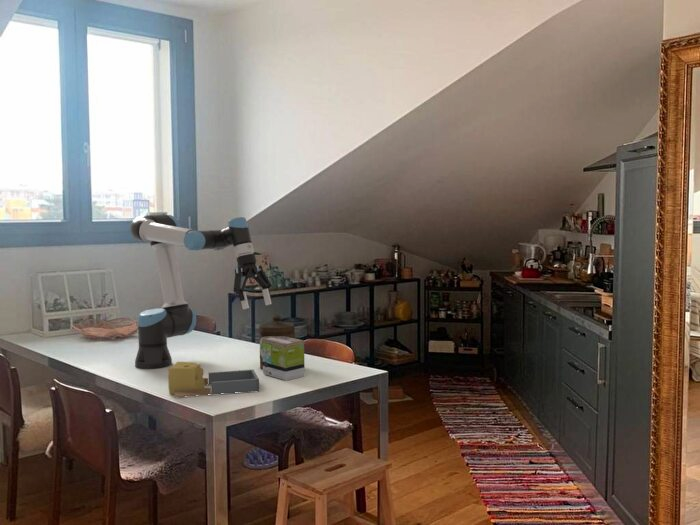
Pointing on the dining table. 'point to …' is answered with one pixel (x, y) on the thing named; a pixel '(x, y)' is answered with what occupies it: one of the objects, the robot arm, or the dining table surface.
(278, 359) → the tea box
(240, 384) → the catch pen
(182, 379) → the cheese
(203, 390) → the lane rails
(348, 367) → the dining table surface
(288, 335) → the wooden container
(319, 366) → the dining table surface
